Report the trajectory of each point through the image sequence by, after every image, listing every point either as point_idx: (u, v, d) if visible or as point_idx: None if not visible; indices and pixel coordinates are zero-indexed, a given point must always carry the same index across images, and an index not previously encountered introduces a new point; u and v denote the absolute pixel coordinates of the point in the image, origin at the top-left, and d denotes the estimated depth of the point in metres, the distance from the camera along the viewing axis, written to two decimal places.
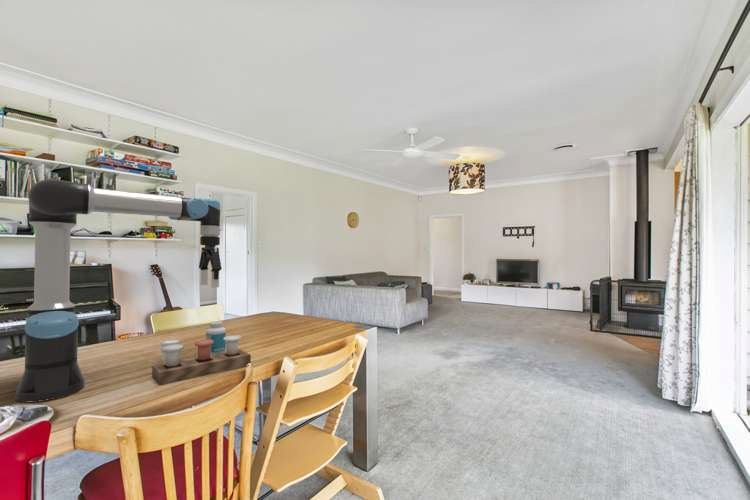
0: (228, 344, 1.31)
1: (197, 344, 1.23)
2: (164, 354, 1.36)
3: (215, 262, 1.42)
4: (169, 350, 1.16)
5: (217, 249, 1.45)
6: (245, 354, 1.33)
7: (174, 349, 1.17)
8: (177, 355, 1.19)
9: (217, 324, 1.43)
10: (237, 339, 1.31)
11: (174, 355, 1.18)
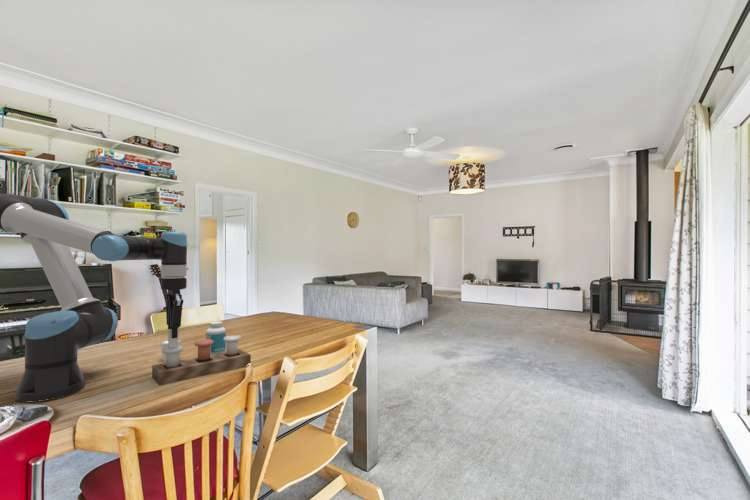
0: (228, 344, 1.31)
1: (197, 344, 1.23)
2: (164, 354, 1.36)
3: (174, 319, 1.16)
4: (169, 351, 1.16)
5: (181, 303, 1.15)
6: (245, 354, 1.33)
7: (174, 350, 1.17)
8: (177, 356, 1.19)
9: (217, 324, 1.43)
10: (237, 339, 1.31)
11: (174, 357, 1.18)
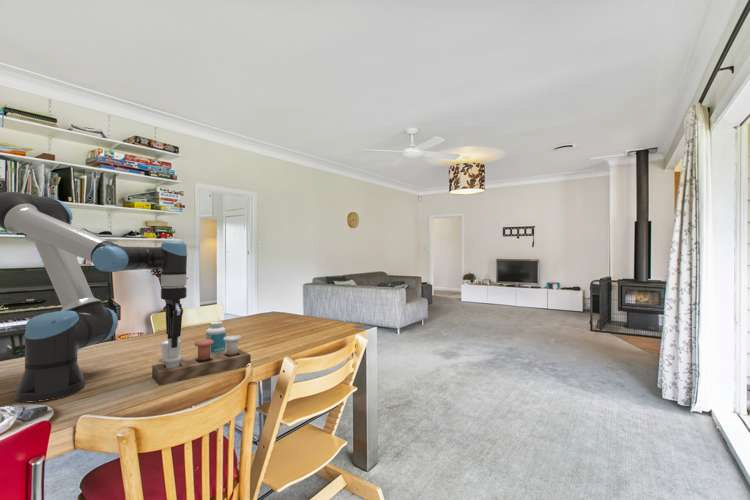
0: (228, 344, 1.31)
1: (197, 344, 1.23)
2: (164, 354, 1.36)
3: (174, 329, 1.16)
4: (169, 361, 1.16)
5: (181, 313, 1.15)
6: (245, 354, 1.33)
7: (174, 360, 1.17)
8: (177, 366, 1.18)
9: (217, 324, 1.43)
10: (237, 339, 1.31)
11: (174, 366, 1.18)
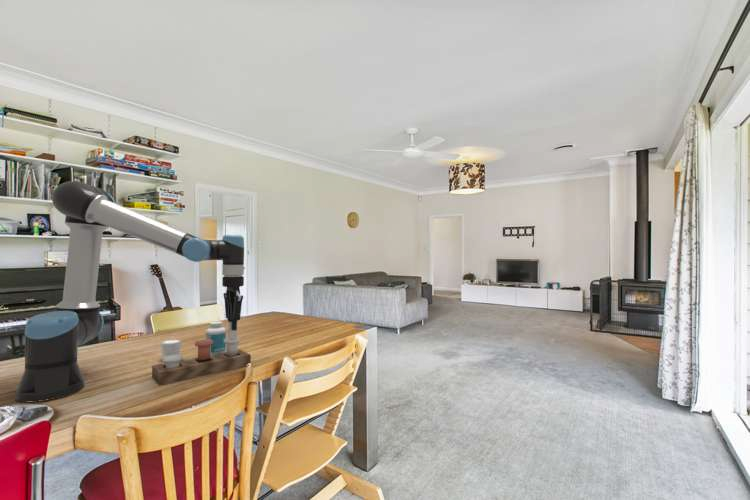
0: (228, 346, 1.31)
1: (197, 344, 1.23)
2: (164, 354, 1.36)
3: (235, 313, 1.29)
4: (169, 361, 1.16)
5: (241, 298, 1.29)
6: (245, 354, 1.33)
7: (174, 360, 1.17)
8: (177, 366, 1.18)
9: (217, 324, 1.43)
10: (237, 341, 1.31)
11: (174, 366, 1.18)
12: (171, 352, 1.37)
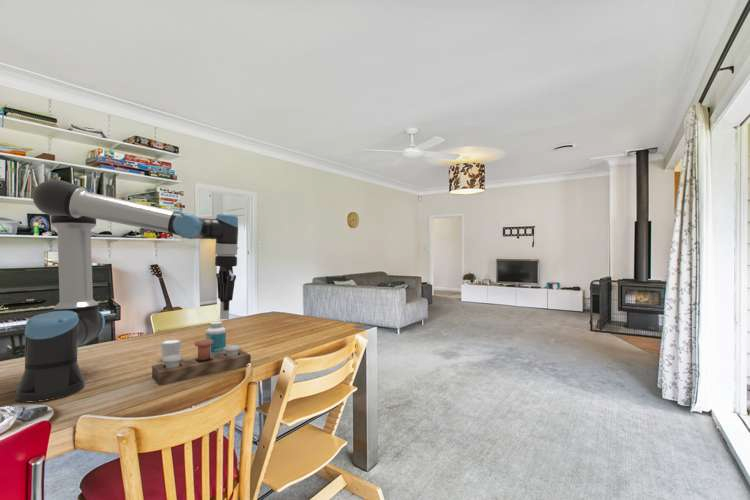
0: (228, 354, 1.31)
1: (197, 344, 1.23)
2: (164, 354, 1.36)
3: (227, 293, 1.28)
4: (169, 361, 1.16)
5: (234, 278, 1.27)
6: (245, 354, 1.33)
7: (174, 360, 1.17)
8: (177, 366, 1.18)
9: (217, 324, 1.43)
10: (237, 349, 1.31)
11: (174, 366, 1.18)
12: (171, 352, 1.37)
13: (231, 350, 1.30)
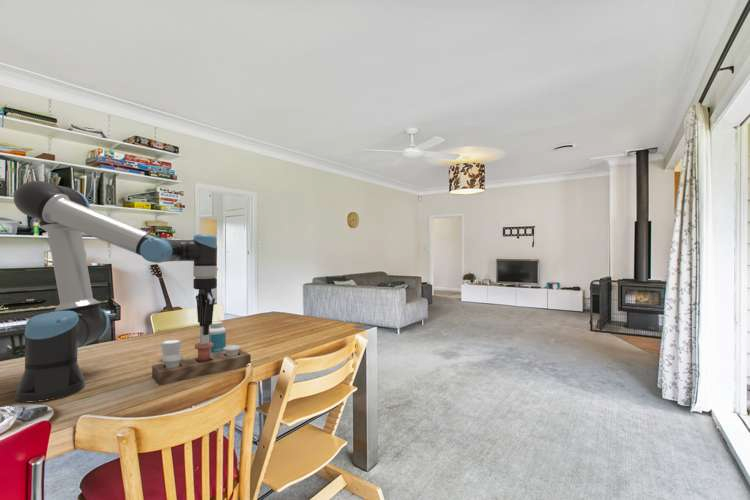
0: (228, 354, 1.31)
1: (197, 347, 1.23)
2: (164, 354, 1.36)
3: (206, 317, 1.22)
4: (169, 361, 1.16)
5: (212, 302, 1.22)
6: (245, 354, 1.33)
7: (174, 360, 1.17)
8: (177, 366, 1.18)
9: (217, 324, 1.43)
10: (237, 349, 1.31)
11: (174, 366, 1.18)
12: (171, 352, 1.37)
13: (231, 350, 1.30)
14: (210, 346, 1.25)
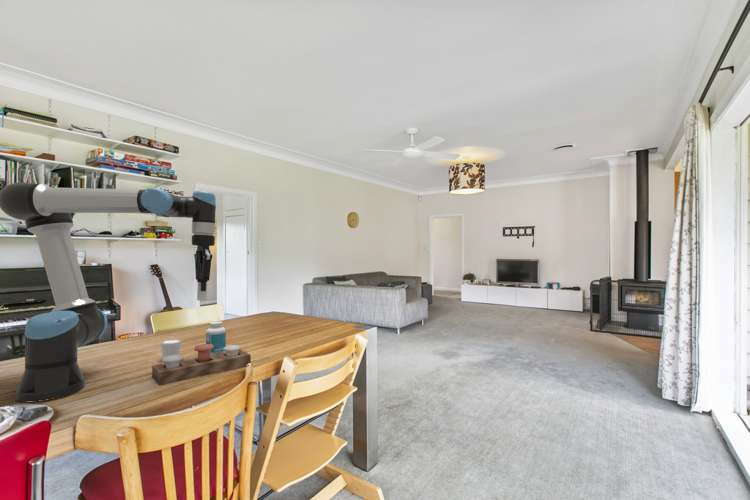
0: (228, 354, 1.31)
1: (197, 349, 1.23)
2: (164, 354, 1.36)
3: (204, 272, 1.24)
4: (169, 361, 1.16)
5: (210, 257, 1.23)
6: (245, 354, 1.33)
7: (174, 360, 1.17)
8: (177, 366, 1.18)
9: (217, 324, 1.43)
10: (237, 349, 1.31)
11: (174, 366, 1.18)
12: (171, 352, 1.37)
13: (231, 350, 1.30)
14: (210, 348, 1.25)
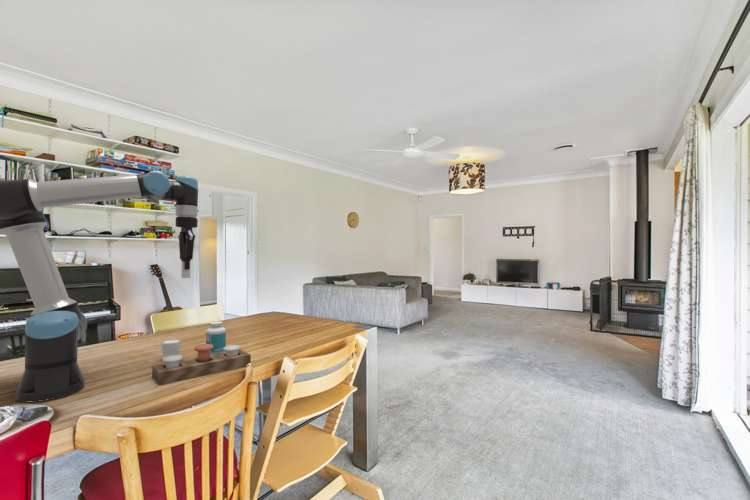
0: (228, 354, 1.31)
1: (197, 349, 1.23)
2: (164, 354, 1.36)
3: (187, 252, 1.33)
4: (169, 361, 1.16)
5: (193, 237, 1.33)
6: (245, 354, 1.33)
7: (174, 360, 1.17)
8: (177, 366, 1.18)
9: (217, 324, 1.43)
10: (237, 349, 1.31)
11: (174, 366, 1.18)
12: (171, 352, 1.37)
13: (231, 350, 1.30)
14: (210, 348, 1.25)
